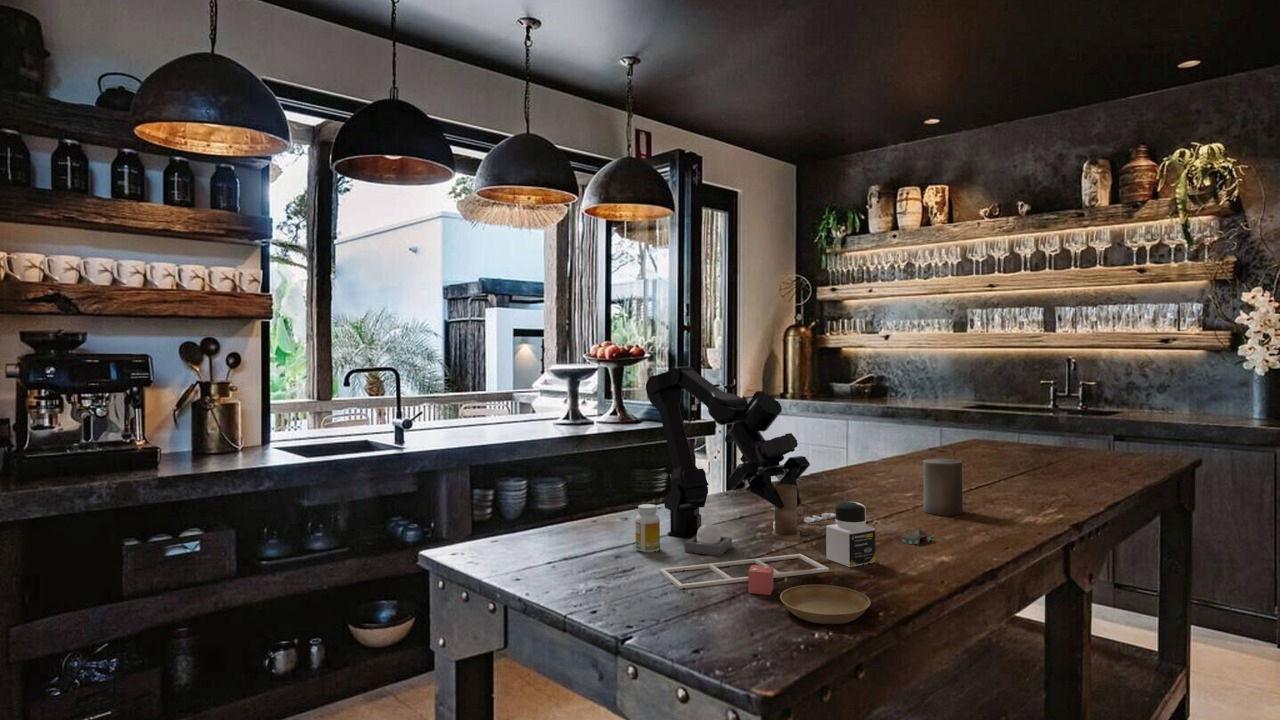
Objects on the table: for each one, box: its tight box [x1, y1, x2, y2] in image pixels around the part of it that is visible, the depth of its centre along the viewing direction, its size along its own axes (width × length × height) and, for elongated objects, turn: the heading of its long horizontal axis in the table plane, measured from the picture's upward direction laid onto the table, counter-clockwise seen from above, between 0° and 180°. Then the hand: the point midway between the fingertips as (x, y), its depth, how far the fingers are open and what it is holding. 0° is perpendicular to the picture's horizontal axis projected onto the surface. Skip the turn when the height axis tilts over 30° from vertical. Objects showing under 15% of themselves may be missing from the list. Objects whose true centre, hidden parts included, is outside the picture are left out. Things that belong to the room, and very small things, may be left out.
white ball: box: [697, 522, 721, 545], centre depth 165 cm, size 5×5×5 cm
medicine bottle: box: [825, 501, 876, 568], centre depth 155 cm, size 7×7×12 cm
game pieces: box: [769, 507, 934, 545], centre depth 187 cm, size 45×13×6 cm, turn 35°
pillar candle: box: [922, 455, 964, 517], centre depth 199 cm, size 10×10×15 cm
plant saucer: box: [779, 584, 871, 625], centre depth 126 cm, size 15×15×3 cm
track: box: [658, 553, 830, 590], centre depth 149 cm, size 32×11×1 cm, turn 108°
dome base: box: [684, 535, 733, 557], centre depth 165 cm, size 8×8×2 cm
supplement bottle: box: [635, 503, 661, 553], centre depth 165 cm, size 5×5×10 cm
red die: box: [747, 564, 774, 596], centre depth 137 cm, size 4×4×4 cm
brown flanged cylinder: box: [771, 483, 801, 542], centre depth 151 cm, size 6×6×10 cm
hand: (790, 506), depth 150 cm, fingers closed on brown flanged cylinder, 4 cm apart
